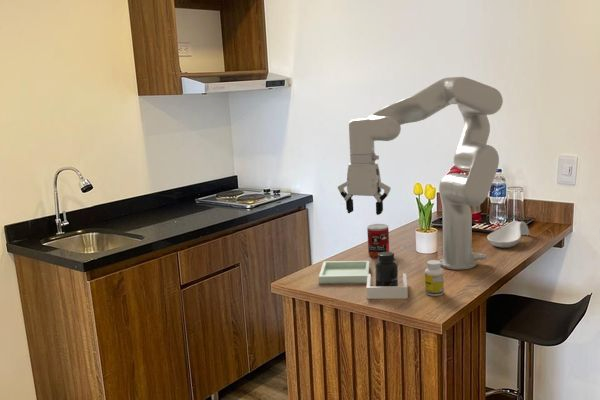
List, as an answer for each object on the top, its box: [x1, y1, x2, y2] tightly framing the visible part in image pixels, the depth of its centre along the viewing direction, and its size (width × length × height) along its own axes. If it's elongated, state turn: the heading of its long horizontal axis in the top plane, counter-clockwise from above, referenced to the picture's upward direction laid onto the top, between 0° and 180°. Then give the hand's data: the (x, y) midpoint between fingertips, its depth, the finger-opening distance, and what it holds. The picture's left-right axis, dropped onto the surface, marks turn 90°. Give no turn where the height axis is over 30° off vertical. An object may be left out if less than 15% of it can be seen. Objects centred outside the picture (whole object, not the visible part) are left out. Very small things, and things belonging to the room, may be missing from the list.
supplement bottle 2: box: [424, 259, 445, 297], centre depth 173 cm, size 5×5×10 cm
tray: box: [318, 260, 371, 285], centre depth 195 cm, size 16×16×2 cm
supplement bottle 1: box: [374, 251, 399, 286], centre depth 177 cm, size 7×7×12 cm
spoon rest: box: [486, 220, 530, 249], centre depth 221 cm, size 24×12×7 cm, turn 137°
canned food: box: [366, 223, 390, 259], centre depth 215 cm, size 8×8×11 cm
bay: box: [365, 272, 409, 300], centre depth 178 cm, size 12×12×4 cm
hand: (364, 213), depth 182 cm, fingers open, 9 cm apart
